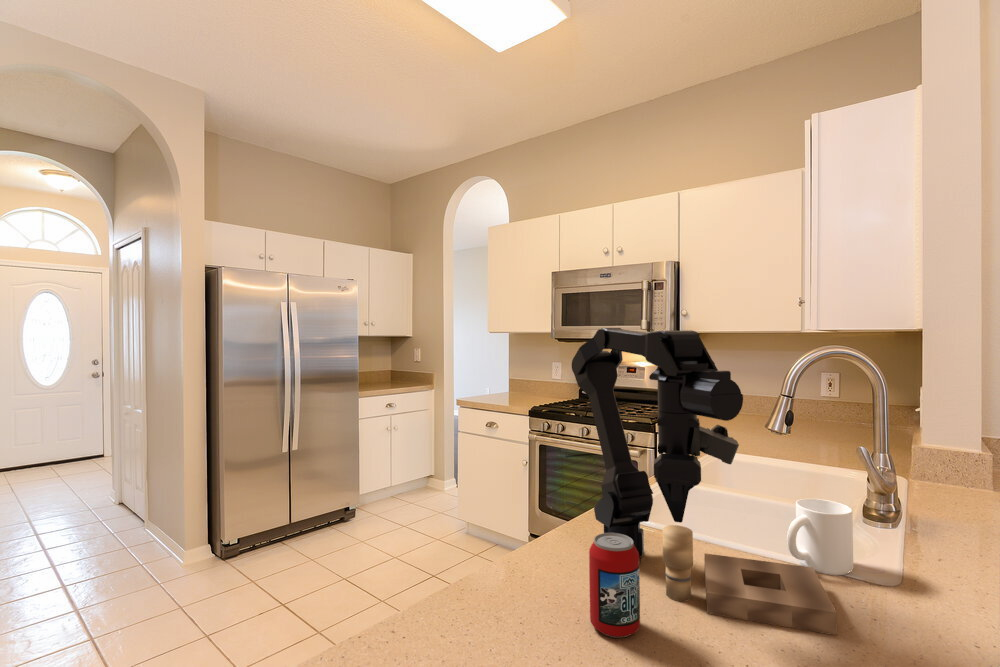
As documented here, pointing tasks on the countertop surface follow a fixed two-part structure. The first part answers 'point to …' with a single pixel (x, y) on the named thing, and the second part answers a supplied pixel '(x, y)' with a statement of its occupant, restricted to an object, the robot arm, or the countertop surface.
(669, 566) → the peg
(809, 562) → the mug
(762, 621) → the board
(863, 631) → the countertop surface
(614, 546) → the beverage can
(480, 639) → the countertop surface
